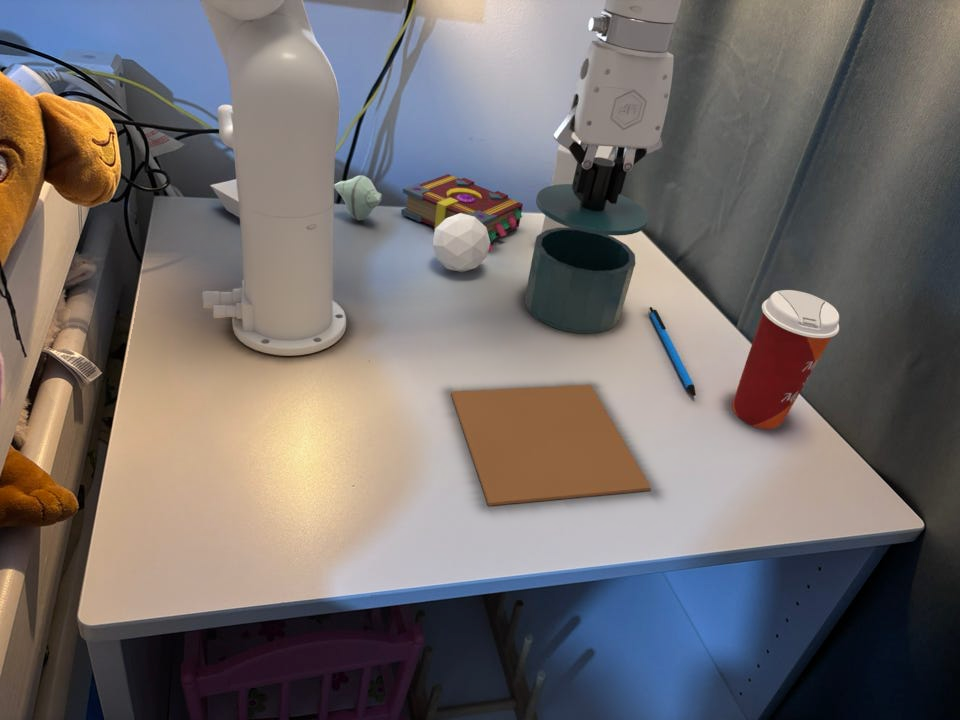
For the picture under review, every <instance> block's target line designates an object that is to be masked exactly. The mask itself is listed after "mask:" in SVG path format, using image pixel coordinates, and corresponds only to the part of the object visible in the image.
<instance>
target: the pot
mask: <svg viewBox="0 0 960 720" xmlns="http://www.w3.org/2000/svg"><path fill="white" fill-rule="evenodd" d="M530 263H531V264H530V269H529V274H528V280H527V284H526V289H525V290H526V291H525V294H524V295H525V296H524V305H525V308H526V309H527V310H528V312H529V313H530V314H531V315H532V316H533V317H534V318H535V319H537V320H538V321H540V322H541V323H543V324H545V325H547V326H549V327H551V328H555V329H557V330H561V331H564V332H568V333H573V334H574V333H575V334H598V333H602V332H606V331H608V330H610V329H612V328H613V327H615V326H616V325H617V324H618V322H619V320H620V318H621V316H622V312H623V309H624V305H625V301H626V298H627V293H628V291H629V287H630V284H631V280H632V277H633V273H634V270H635V266H636V254H635V253H634V251H633V250H632V249H631V248H630V247H629V245H627V244H626V243H624V242H623V241H621V240H619V239H618V238H616V237H614V236H612V235H600V234H593V233H588V232H584V231H580V230H576V229H573V228H567V227H559V228H554V229H550V230H545V231H544V232H542V231H541V233H539V234H538V235H536V237H535V243H534V248H533V253H532V258H531V262H530Z"/></svg>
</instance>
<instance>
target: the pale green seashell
mask: <svg viewBox="0 0 960 720" xmlns="http://www.w3.org/2000/svg"><path fill="white" fill-rule="evenodd" d="M334 190H335V191H336V192H337V193H338V194H339V196H340V197H341V198H342V200H343V201H344V203H345V206H346V209H347V212H348V213H349V215H350V217H352V218H353V219H355V220H356V221H363V220H366V219H367V218H368V217H369V216H370V215H371V213H372V211H373V210H374V209H375V208H376V207H378V205H379V204H380V203H381V202H382V200H383V194H382V193H380V192H379V191H377V189H376V186H375V185H374V183H373V182H372V180H371V179H370V178H369V177H367V176H365V175H356V176H354V177H353V178H350V179H347V180H340V181H339V182H337V183H334Z"/></svg>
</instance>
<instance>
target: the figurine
mask: <svg viewBox="0 0 960 720" xmlns="http://www.w3.org/2000/svg"><path fill="white" fill-rule="evenodd" d="M217 123H218V124H217V125H218V132H219V138H220V140H221V142H222V143H223V145H225V146H227V147H229V148H231V149H232V150H233V154H234V155H235V139H234V122H233V112H232V104H227V103H226V104H221V105H219V106H218V107H217ZM234 166H235V170H236V158H235V157H234ZM209 186H210V188H211V189H212V191H213V192H214V193H215V195H216V196H217V198H218V199H219V201H220V203H221V204H222V206H223V207H224V209H225V210H226V211H227V212H229V213H231V214H233V215H234V216H236V218H239V219H240V213H239V200H238V189H237V174H236V173H235V179H231V180H227V181H222V182H218V183H213V184H209Z"/></svg>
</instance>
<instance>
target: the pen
mask: <svg viewBox="0 0 960 720" xmlns="http://www.w3.org/2000/svg"><path fill="white" fill-rule="evenodd" d="M649 316H650V318H651V319H652V321H653V324H654V326H655V328H656V330H657V332H658V333H659V336H660V337H661V339H662V341H663V342H662V343H663V344H664V346H665V348H666V349H667V352H668V354H669V356H670V358H671V360H672V362H673V364H674V367H675V368H676V370H677V372H678V374H679V376H680V378H681V380H682V382H683V385H684V386H685V388H686V390H687V391H688V392H689V393H690V394H691V395H692V396H693V397H694V398H696V397H697V393H696V388H695V385H694V383H693V381H692V378H691V377H690V375H689V373H688V370H687V369H686V367H685V365H684V363H683V361H682V358H681V357H680V355H679V353H678V351H677V350H676V347H675V345H674V343H673V341H672V340H671V339H672V338H671V337H670V336H669V333H668V332H667V328H666V326H665V323H664V322H663V319H662V318H661V316H660V314H659V312H658V310H657V309H654V308H653V307H652V306H650V307H649Z"/></svg>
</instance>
